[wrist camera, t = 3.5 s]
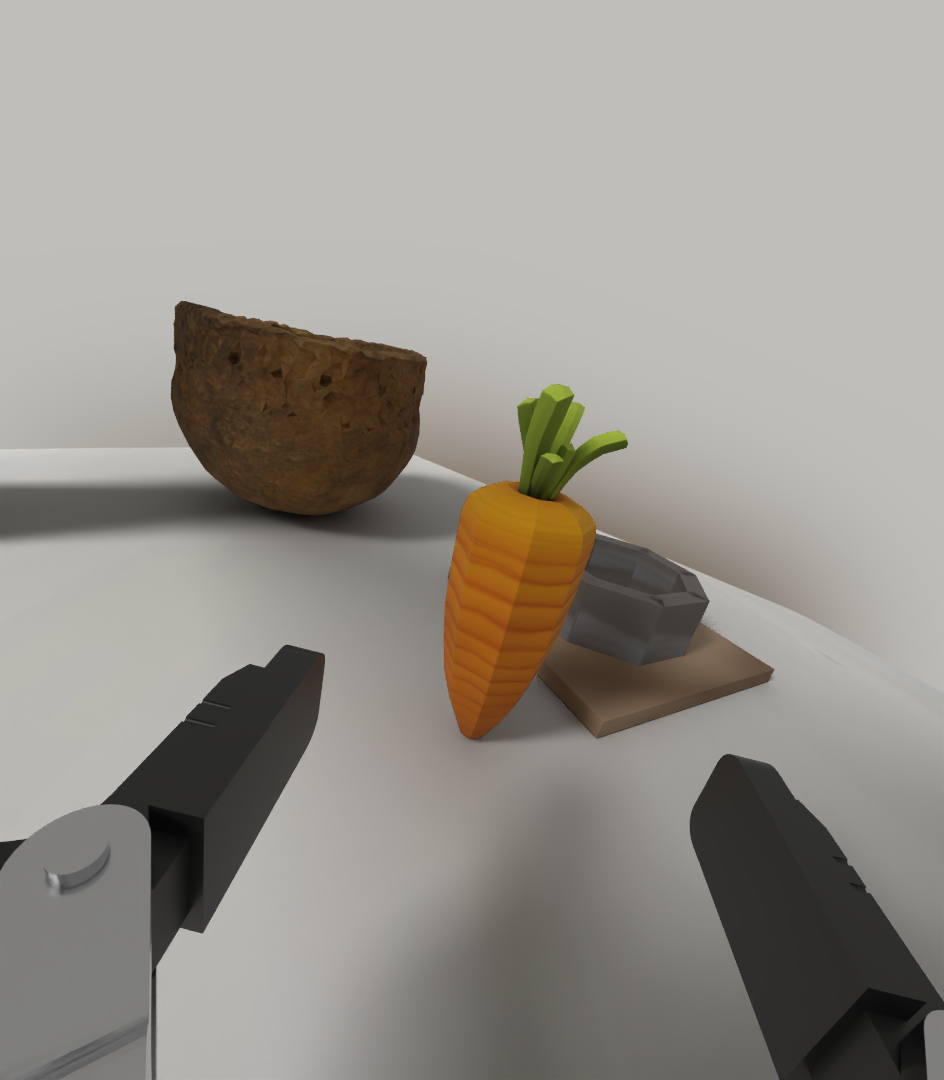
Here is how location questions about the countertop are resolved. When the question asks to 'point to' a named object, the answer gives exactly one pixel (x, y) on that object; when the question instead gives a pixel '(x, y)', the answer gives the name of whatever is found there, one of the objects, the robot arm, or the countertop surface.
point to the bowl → (294, 410)
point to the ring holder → (640, 643)
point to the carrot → (518, 565)
